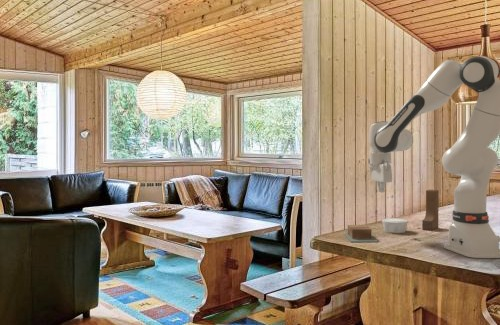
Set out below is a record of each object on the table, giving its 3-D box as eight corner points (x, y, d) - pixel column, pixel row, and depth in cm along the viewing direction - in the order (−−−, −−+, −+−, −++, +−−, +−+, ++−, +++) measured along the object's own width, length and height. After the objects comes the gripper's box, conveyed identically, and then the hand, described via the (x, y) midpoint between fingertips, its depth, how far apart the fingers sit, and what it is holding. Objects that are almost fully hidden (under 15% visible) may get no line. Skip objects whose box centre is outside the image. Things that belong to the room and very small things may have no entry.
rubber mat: (378, 242, 184) (378, 241, 184) (351, 242, 184) (351, 241, 184) (368, 234, 200) (368, 233, 200) (343, 234, 200) (343, 233, 200)
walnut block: (371, 229, 189) (365, 224, 199) (352, 229, 189) (347, 224, 199) (371, 238, 189) (365, 233, 199) (352, 238, 189) (347, 233, 199)
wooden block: (431, 230, 206) (432, 191, 205) (421, 229, 209) (422, 191, 208) (438, 227, 212) (438, 189, 212) (428, 226, 215) (429, 189, 215)
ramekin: (391, 234, 199) (391, 222, 199) (377, 230, 210) (377, 218, 209) (413, 233, 202) (413, 221, 202) (398, 228, 213) (398, 217, 212)
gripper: (395, 159, 182) (396, 193, 182) (381, 159, 202) (382, 190, 203) (379, 160, 182) (381, 194, 182) (367, 160, 202) (368, 190, 203)
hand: (381, 192), depth 192 cm, fingers closed
